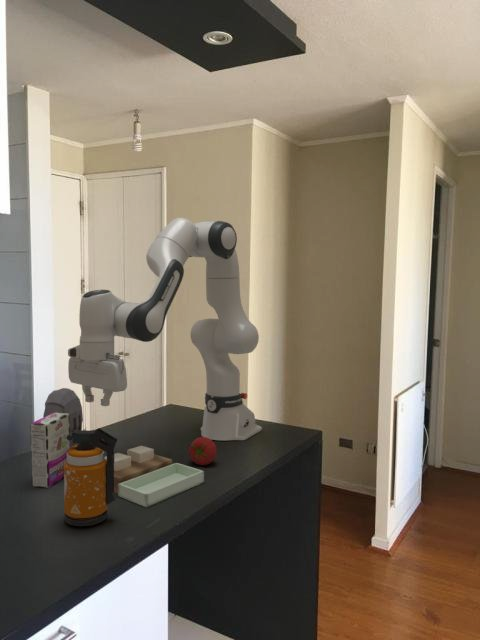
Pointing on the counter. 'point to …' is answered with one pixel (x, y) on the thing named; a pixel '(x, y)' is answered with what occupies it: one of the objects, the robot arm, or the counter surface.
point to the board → (139, 469)
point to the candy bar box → (49, 449)
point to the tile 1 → (121, 461)
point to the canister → (89, 477)
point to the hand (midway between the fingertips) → (97, 403)
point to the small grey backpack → (66, 408)
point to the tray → (160, 484)
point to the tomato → (202, 451)
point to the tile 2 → (140, 454)
